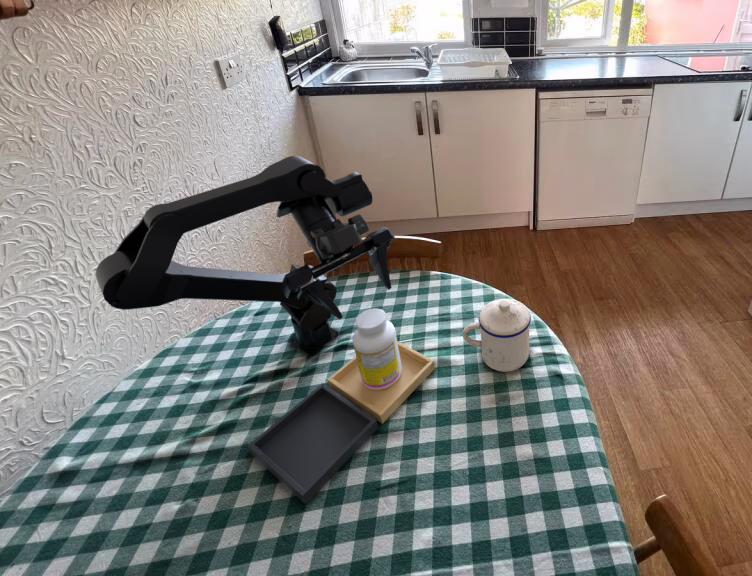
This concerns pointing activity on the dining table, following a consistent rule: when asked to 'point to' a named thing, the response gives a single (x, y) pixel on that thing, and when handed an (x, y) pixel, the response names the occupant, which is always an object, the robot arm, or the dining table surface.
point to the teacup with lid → (502, 334)
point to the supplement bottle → (376, 349)
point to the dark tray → (313, 441)
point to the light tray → (389, 398)
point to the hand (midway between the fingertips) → (366, 303)
